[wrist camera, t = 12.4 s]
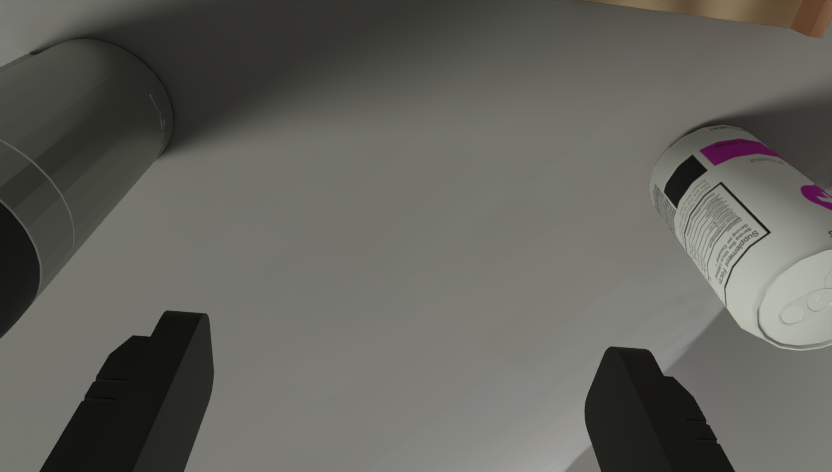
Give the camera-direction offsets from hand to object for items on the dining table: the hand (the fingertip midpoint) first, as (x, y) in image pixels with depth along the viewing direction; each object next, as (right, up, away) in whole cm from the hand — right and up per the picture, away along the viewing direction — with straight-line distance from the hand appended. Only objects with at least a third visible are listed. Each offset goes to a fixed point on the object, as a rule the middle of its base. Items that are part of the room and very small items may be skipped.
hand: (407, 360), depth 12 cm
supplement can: (+21, +7, +31) cm, 39 cm away
